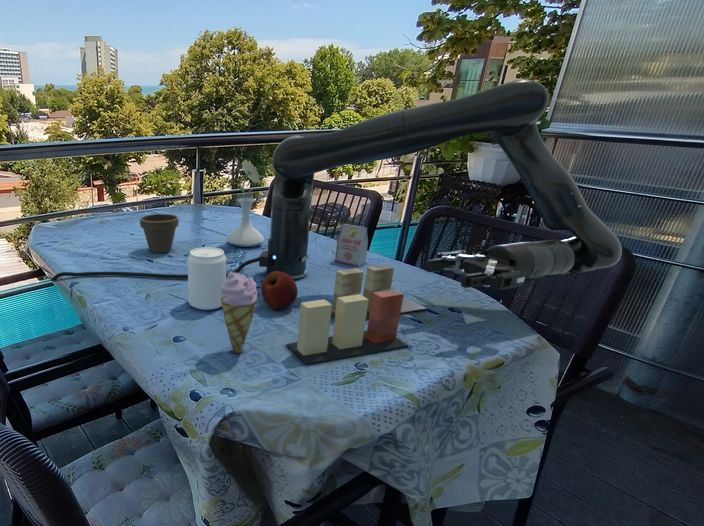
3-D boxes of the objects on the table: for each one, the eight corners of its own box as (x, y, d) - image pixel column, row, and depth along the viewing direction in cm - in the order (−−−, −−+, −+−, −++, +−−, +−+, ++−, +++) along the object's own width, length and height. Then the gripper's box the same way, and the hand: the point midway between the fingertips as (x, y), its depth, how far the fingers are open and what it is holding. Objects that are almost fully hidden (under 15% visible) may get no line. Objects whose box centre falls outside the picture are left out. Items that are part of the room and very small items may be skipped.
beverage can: (229, 299, 104) (230, 247, 100) (220, 313, 97) (221, 259, 93) (194, 295, 107) (194, 245, 102) (183, 309, 100) (182, 256, 95)
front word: (306, 365, 78) (310, 314, 74) (286, 345, 84) (289, 298, 80) (407, 347, 82) (417, 298, 79) (382, 330, 88) (389, 284, 85)
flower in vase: (266, 249, 138) (270, 162, 128) (228, 250, 138) (229, 163, 129) (259, 237, 150) (263, 157, 140) (224, 238, 150) (225, 158, 141)
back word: (341, 323, 92) (346, 278, 88) (322, 309, 98) (326, 267, 94) (426, 310, 96) (435, 267, 92) (403, 297, 102) (410, 256, 99)
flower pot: (157, 242, 148) (155, 211, 144) (186, 248, 142) (186, 215, 138) (133, 252, 139) (131, 219, 135) (163, 258, 133) (162, 223, 129)
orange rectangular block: (374, 343, 83) (381, 297, 79) (365, 337, 85) (372, 292, 82) (395, 339, 84) (403, 294, 80) (386, 334, 86) (394, 289, 83)
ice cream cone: (217, 342, 86) (217, 265, 80) (250, 340, 86) (253, 263, 80) (223, 360, 80) (224, 279, 74) (259, 358, 80) (263, 276, 74)
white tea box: (341, 257, 129) (345, 222, 125) (365, 262, 124) (370, 226, 120) (335, 260, 127) (338, 225, 123) (358, 266, 122) (363, 229, 118)
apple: (253, 303, 102) (254, 269, 98) (282, 297, 104) (285, 263, 101) (272, 316, 95) (274, 280, 92) (303, 309, 98) (306, 274, 95)
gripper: (488, 234, 91) (418, 242, 88) (560, 254, 79) (482, 265, 75) (480, 270, 94) (412, 280, 90) (548, 295, 81) (472, 308, 78)
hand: (444, 273), depth 83 cm, fingers open, 8 cm apart
